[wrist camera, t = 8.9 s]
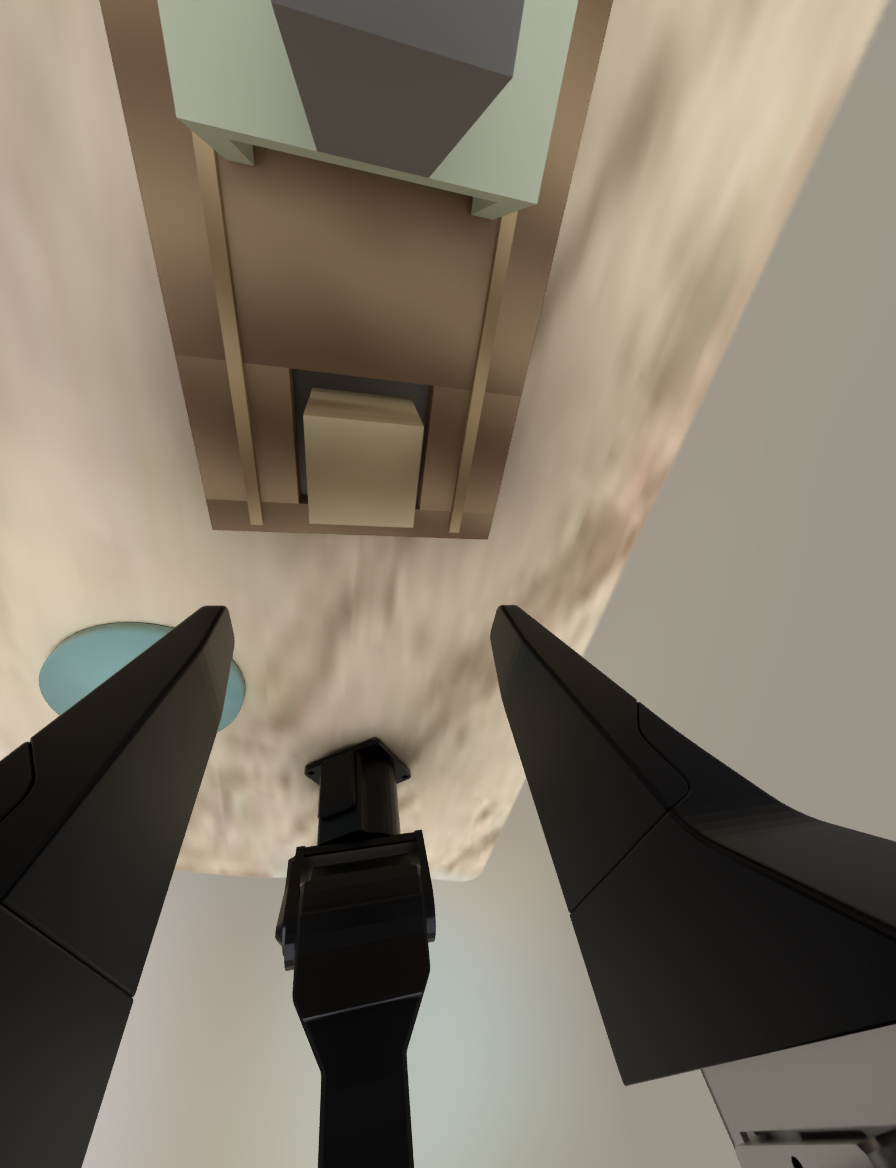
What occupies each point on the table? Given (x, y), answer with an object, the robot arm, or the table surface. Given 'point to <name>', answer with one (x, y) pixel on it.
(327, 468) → the block
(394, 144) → the sliding cover
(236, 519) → the puzzle board
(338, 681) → the table surface
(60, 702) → the teal saucer
